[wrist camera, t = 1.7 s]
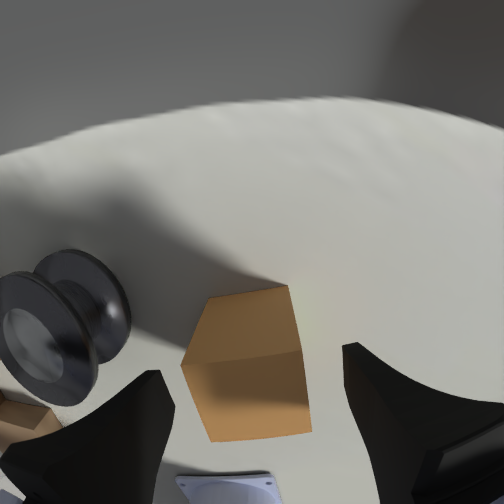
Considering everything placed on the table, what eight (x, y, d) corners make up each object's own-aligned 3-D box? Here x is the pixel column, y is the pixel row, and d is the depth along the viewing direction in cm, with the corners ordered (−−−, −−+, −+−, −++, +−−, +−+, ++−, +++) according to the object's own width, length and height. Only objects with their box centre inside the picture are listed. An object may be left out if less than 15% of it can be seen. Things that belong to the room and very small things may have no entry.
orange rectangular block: (297, 352, 16) (312, 431, 10) (226, 362, 16) (211, 442, 10) (287, 285, 15) (301, 350, 9) (208, 297, 15) (180, 365, 10)
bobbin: (147, 355, 16) (114, 411, 11) (61, 358, 17) (22, 399, 12) (109, 238, 15) (53, 265, 10) (24, 260, 15) (-30, 285, 10)
